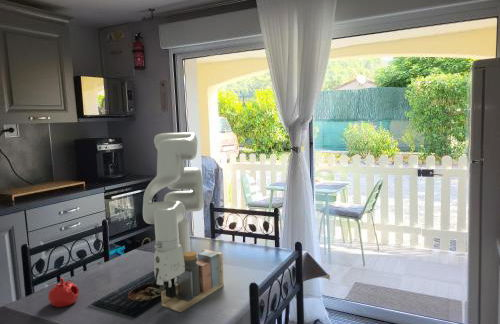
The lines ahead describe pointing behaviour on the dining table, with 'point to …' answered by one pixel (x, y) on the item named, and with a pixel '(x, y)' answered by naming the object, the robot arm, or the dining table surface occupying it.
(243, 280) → the dining table surface
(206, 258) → the rack
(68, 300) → the pomegranate
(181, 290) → the bookend
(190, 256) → the bottle
